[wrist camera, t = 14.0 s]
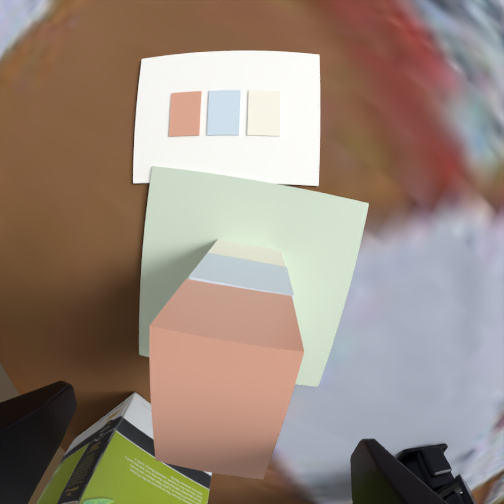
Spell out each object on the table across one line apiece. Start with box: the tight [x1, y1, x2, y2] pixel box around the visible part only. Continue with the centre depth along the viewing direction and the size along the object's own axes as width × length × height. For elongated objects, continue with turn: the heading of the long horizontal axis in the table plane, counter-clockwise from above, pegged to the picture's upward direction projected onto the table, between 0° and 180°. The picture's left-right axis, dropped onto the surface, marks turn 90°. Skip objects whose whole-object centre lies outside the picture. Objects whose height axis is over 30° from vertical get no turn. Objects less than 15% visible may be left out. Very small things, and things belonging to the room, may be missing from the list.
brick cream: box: [208, 239, 285, 266], centre depth 18 cm, size 6×4×4 cm, turn 170°
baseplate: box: [139, 166, 369, 387], centre depth 20 cm, size 14×14×1 cm
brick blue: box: [188, 253, 294, 299], centre depth 14 cm, size 6×4×4 cm, turn 170°
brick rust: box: [149, 279, 304, 479], centre depth 10 cm, size 6×4×4 cm, turn 171°
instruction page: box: [133, 51, 320, 186], centre depth 17 cm, size 9×12×1 cm
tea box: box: [36, 392, 212, 504], centre depth 17 cm, size 15×10×15 cm
